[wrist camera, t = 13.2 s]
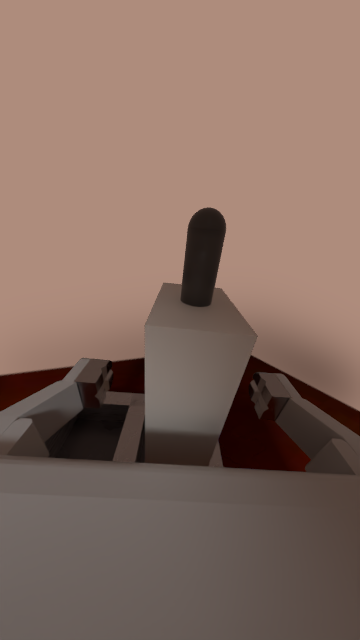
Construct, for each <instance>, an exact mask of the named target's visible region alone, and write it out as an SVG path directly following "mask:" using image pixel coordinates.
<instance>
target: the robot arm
mask: <svg viewBox="0 0 360 640" xmlns="http://www.w3.org/2000/svg"><path fill="white" fill-rule="evenodd" d="M111 367H112V361H110V360H100V359H89V358H82V359H80V360H79V361H78V362H77V364H76V365H75V366H74V367H73V368H72V369H71V371H70V372H69V373H68V374H67V375H66V377H65V378H64V379H63V380H62V381H58V382H56V383H54V384H52V385H50V386H48V387H46V388H44V389H42V390H41V391H39V392H37V393H35V394H33V395H31V396H29V397H27V398H25V399H24V400H22V401H20V402H18V403H16V404H14V405H12V406H10V407H8V408H7V409H5V410H3V411H1V412H0V640H360V436H358V435H357V434H355V433H354V432H352V431H351V430H349V429H348V428H346V427H345V426H344V425H342V424H341V423H339V422H338V421H336V420H335V419H333V418H332V417H330V416H329V415H327V414H326V413H325V412H323V411H322V410H320V409H319V408H317V407H316V406H314V405H313V404H311V403H310V402H309V401H307V400H306V399H302V398H301V396H300V395H299V394H298V392H297V391H296V390H295V389H294V387H293V386H292V385H291V383H290V382H289V381H288V379H287V378H286V377H285V376H284V375H283V374H275V373H273V374H272V373H259V372H256V373H254V375H253V379H254V380H253V381H252V382H250V384H249V396H250V398H251V400H252V401H253V402H254V403H255V407H254V408H255V410H256V412H257V414H258V417H259V419H262V420H272V421H275V422H276V423H277V424H278V425H279V426H280V427H281V428H282V429H283V430H284V431H285V432H286V433H287V435H288V436H289V437H290V438H291V439H292V440H293V441H294V442H295V443H296V444H297V445H298V446H299V447H300V448H301V449H302V450H303V451H304V452H305V453H306V455H307V456H308V457H309V458H310V459H311V461H310V462H309V463H308V464H307V465H306V467H305V469H306V471H307V472H296V471H278V470H261V469H243V468H226V467H208V466H190V465H173V464H155V463H137V462H119V461H102V460H84V459H66V458H48V456H49V450H48V448H47V446H46V445H45V443H44V442H45V441H46V440H47V439H49V438H50V437H51V436H52V435H53V434H54V433H56V432H57V431H58V430H59V429H60V428H61V427H63V426H64V425H65V424H66V423H67V422H68V421H70V420H71V419H72V418H73V417H74V416H75V415H77V414H78V413H79V412H80V411H81V410H82V409H83V408H101V406H102V404H103V402H104V400H105V398H106V392H107V391H108V390H109V389H110V387H111V385H112V382H113V371H112V370H111Z"/></svg>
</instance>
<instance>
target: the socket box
mask: <svg viewBox="0 0 360 640" xmlns="http://www.w3.org/2000/svg"><path fill="white" fill-rule="evenodd" d="M44 443H45V445H46V446H47V448H48V450H49V456H48V458H66V459H84V460H102V461H119V462H137V463H145V394H137V393H123V392H109V391H107V392H106V398H105V400H104V402H103V404H102V406H101V408H83V409H82V410H81V411H80V412H79V413H78V414H77V415H75V416H74V417H73V418H72V419H71V420H70V421H68V422H67V423H66V424H65V425H64V426H63V427H61V428H60V429H59V430H58V431H57V432H56V433H54V434H53V435H52V436H51V437H50V438H49V439H47V440H46V441H45V442H44ZM208 467H223V464H222V458H221V453H220V447H219V442H218V441H217V444H216V447H215V449H214V452H213V454H212V457H211V460H210V462H209V465H208Z"/></svg>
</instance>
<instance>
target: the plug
mask: <svg viewBox="0 0 360 640" xmlns="http://www.w3.org/2000/svg"><path fill="white" fill-rule="evenodd" d="M225 232H226V223H225V219H224V218H223V215H222V214H221V213H220V212H219V211H217V210H216V209H213V208H203V209H201V210H199V211H198V212H196V213H195V214H194V215H193V216H192V218H191V220H190V222H189V225H188V232H187V242H186V251H185V261H184V270H183V280H182V285H181V284H171V283H163V285H162V288H161V290H160V292H159V294H158V296H157V299H156V301H155V303H154V305H153V308H152V310H151V312H150V315H149V317H148V319H147V322H146V324H145V463H155V464H173V465H190V466H208V465H209V462H210V460H211V457H212V454H213V452H214V449H215V447H216V444H217V441H218V439H219V436H220V433H221V431H222V428H223V426H224V423H225V420H226V418H227V415H228V412H229V410H230V407H231V405H232V402H233V399H234V397H235V394H236V392H237V389H238V386H239V384H240V381H241V378H242V376H243V373H244V371H245V368H246V365H247V363H248V360H249V357H250V355H251V352H252V350H253V347H254V344H255V342H256V339H257V337H258V336H257V334H256V333H255V332H254V331H253V329H252V328H251V327H250V325H249V324H248V323H247V321H246V320H245V319H244V317H243V316H242V315H241V314H240V312H239V311H238V310H237V308H236V307H235V306H234V304H233V303H232V302H231V301H230V299H229V298H228V297H227V295H226V294H225V293H224V292H223V290H222V289H220V288H214V287H215V282H216V277H217V272H218V267H219V262H220V257H221V252H222V247H223V242H224V237H225Z"/></svg>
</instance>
